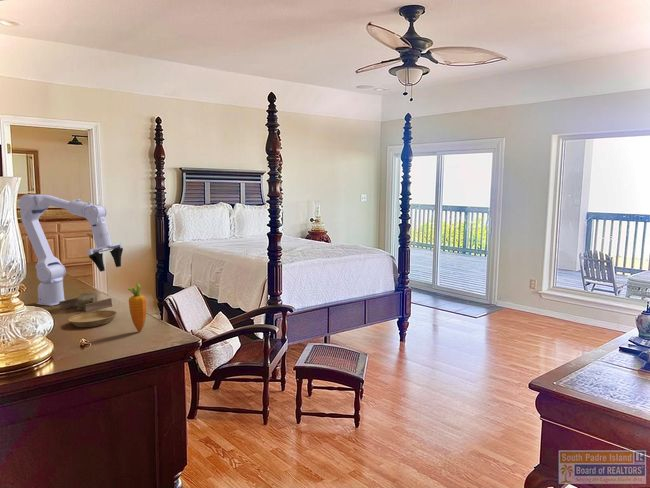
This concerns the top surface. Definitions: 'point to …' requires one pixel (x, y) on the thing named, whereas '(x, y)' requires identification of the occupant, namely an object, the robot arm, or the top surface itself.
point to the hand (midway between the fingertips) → (110, 268)
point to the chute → (87, 307)
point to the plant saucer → (92, 318)
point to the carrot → (137, 307)
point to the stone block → (86, 300)
